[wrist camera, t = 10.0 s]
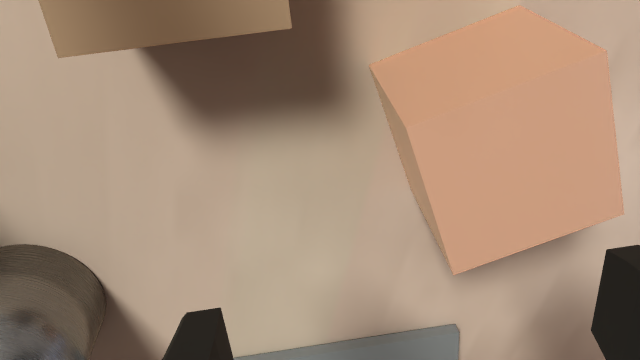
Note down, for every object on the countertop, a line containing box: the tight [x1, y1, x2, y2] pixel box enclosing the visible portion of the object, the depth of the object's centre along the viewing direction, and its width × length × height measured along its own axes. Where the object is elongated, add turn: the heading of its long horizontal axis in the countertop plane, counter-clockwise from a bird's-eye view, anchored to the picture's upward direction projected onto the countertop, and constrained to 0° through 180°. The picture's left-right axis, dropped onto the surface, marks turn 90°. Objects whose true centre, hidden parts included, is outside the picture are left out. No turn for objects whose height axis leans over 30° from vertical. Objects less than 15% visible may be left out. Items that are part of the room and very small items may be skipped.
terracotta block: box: [369, 5, 624, 275], centre depth 17 cm, size 5×5×5 cm
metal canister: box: [0, 244, 106, 360], centre depth 19 cm, size 5×5×5 cm
